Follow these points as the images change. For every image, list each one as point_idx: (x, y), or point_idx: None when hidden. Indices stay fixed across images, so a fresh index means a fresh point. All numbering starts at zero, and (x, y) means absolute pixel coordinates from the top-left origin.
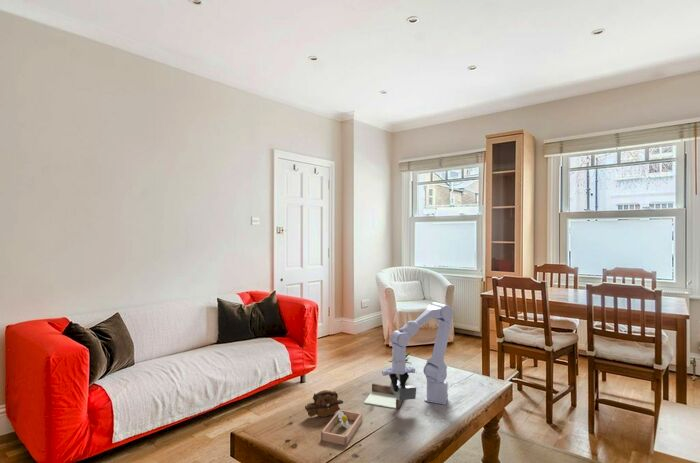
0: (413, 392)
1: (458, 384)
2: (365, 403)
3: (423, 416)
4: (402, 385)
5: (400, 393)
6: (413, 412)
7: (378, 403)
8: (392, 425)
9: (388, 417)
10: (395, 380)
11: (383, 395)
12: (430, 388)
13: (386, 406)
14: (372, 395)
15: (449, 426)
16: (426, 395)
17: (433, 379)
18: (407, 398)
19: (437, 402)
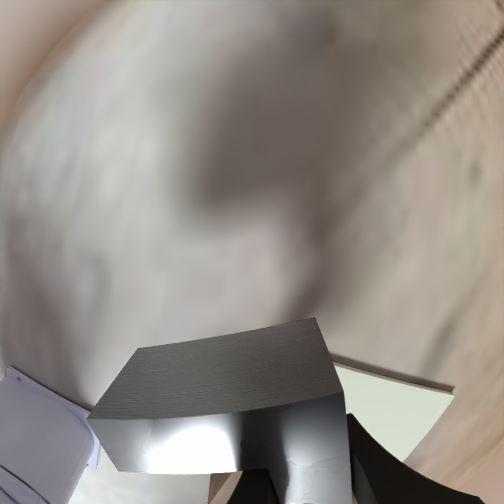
0: (138, 383)
1: None
2: (447, 391)
3: (119, 242)
4: (274, 473)
5: (318, 355)
6: (180, 302)
7: (392, 396)
8: (367, 120)
9: (376, 233)
10: (418, 502)
11: None
12: (44, 458)
13: (356, 370)
14: None
15: (11, 124)
16: (96, 456)
17: (5, 491)
18: (220, 340)
19: (39, 387)
